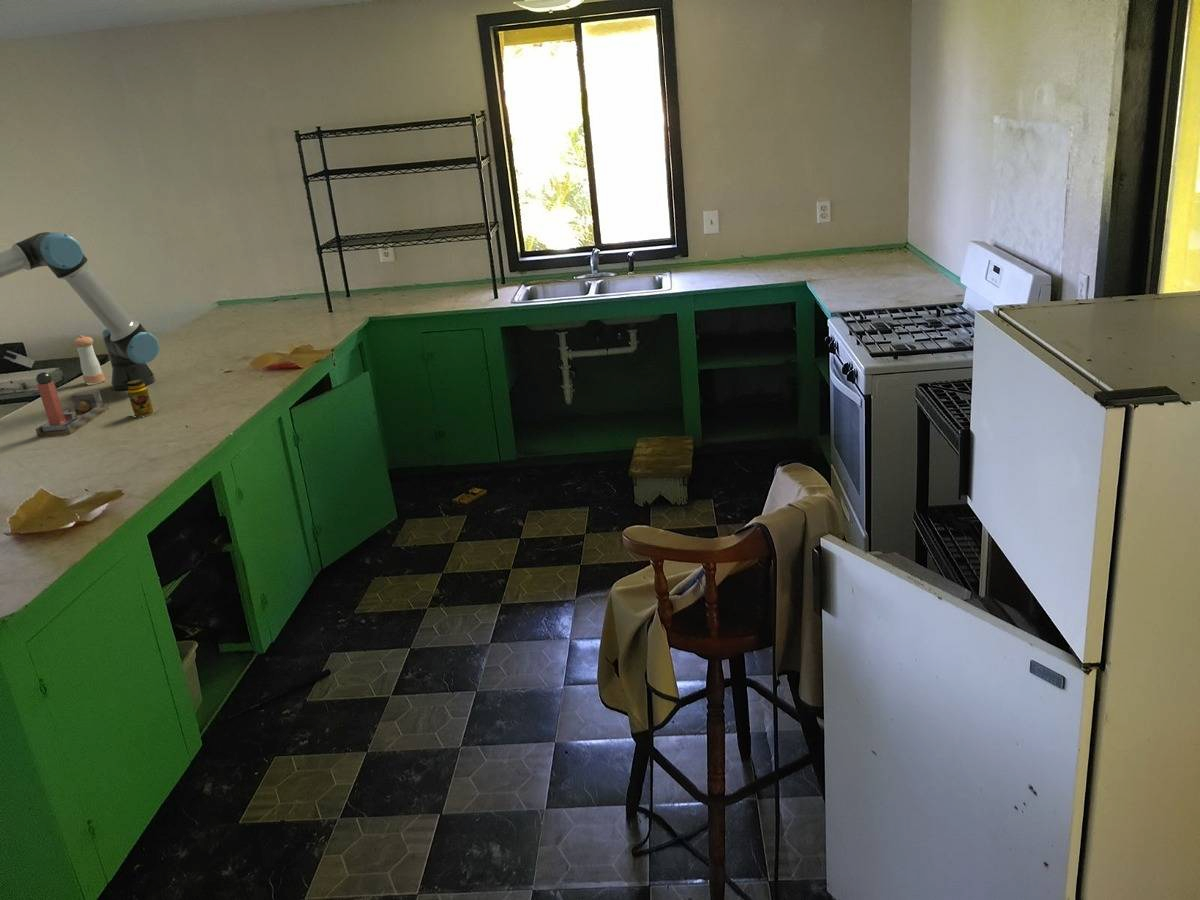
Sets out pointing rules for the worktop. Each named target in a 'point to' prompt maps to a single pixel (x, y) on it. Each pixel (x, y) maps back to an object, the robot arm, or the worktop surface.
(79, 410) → the press base
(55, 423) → the handle carriage
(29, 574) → the worktop surface
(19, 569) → the worktop surface
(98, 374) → the pepper shaker
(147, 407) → the condiment
